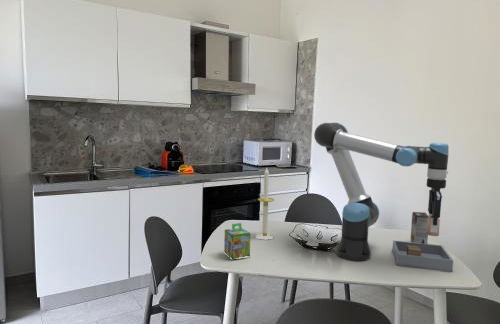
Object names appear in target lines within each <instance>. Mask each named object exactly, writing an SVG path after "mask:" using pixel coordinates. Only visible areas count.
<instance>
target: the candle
mask: <svg viewBox="0 0 500 324" xmlns="http://www.w3.org/2000/svg"><path fill="white" fill-rule="evenodd" d="M269 174H270V172H269V170H268V167H266V168H265V170H264V174H263V175H264V177H263V179H264V181H263V184H264V185H263V188H264V189H263V197H259V198H257V201H259V202H262V203H263V206H262V234H263V236H267V234H268V223H269V222H268V219H269V218H268V217H269V203H271V202H274V201H275V199H274V198H272V197H269V177H270V176H269Z"/></svg>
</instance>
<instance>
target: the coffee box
mask: <svg viewBox="0 0 500 324" xmlns="http://www.w3.org/2000/svg"><path fill="white" fill-rule="evenodd" d="M427 218H429V214H427V213H426V212H422V211H420V212H419V211H412V214H411V229H410V241H409V242H413V243H423V244H428V240H429V239H428V236H429V235H427V234H426V232H427Z"/></svg>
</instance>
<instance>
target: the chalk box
mask: <svg viewBox="0 0 500 324" xmlns="http://www.w3.org/2000/svg"><path fill="white" fill-rule="evenodd" d="M223 248H224V249H223V250H224V251H223V253H224V252H225V253H226V254H227V255H228V256H229V257H231V258H232V259H234V258H239V257H245V256H250V255H251V232H249V231H248V230H247V229H244V228H242V223H241V222H237V223H232V224H231V228H228V229H227V228H226V229H224V245H223ZM229 257H228V258H229ZM250 257H251V256H250Z"/></svg>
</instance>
